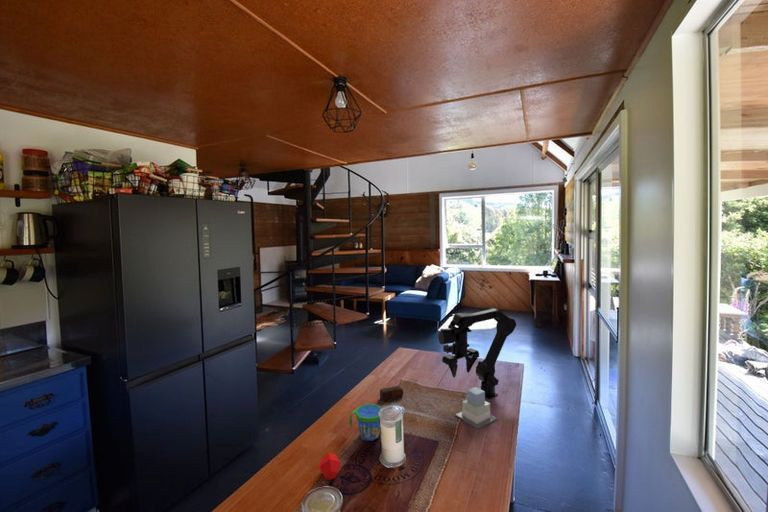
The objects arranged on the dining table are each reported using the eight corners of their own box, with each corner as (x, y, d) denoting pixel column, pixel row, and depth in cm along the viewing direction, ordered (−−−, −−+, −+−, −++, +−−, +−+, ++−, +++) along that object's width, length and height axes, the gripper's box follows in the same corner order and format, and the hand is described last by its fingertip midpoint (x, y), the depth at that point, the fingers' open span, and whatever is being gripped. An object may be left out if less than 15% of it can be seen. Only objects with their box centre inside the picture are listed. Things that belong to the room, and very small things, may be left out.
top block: (475, 398, 140) (475, 386, 140) (484, 403, 136) (484, 391, 136) (467, 401, 138) (467, 390, 137) (476, 406, 134) (476, 394, 133)
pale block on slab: (474, 407, 146) (474, 392, 145) (497, 419, 136) (497, 404, 135) (455, 415, 139) (455, 400, 139) (477, 429, 129) (477, 413, 129)
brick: (383, 402, 152) (383, 392, 151) (379, 398, 155) (379, 389, 155) (403, 397, 156) (403, 387, 156) (399, 393, 160) (399, 384, 159)
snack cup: (393, 431, 129) (392, 406, 128) (385, 448, 119) (384, 421, 118) (356, 425, 134) (355, 401, 133) (345, 440, 124) (344, 414, 123)
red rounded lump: (340, 467, 102) (336, 444, 109) (319, 474, 101) (316, 450, 108) (344, 480, 105) (340, 456, 112) (323, 487, 104) (320, 463, 111)
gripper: (462, 333, 162) (462, 364, 163) (433, 340, 152) (434, 373, 153) (480, 339, 153) (480, 371, 154) (451, 347, 143) (451, 382, 144)
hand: (461, 374), depth 152 cm, fingers open, 9 cm apart
